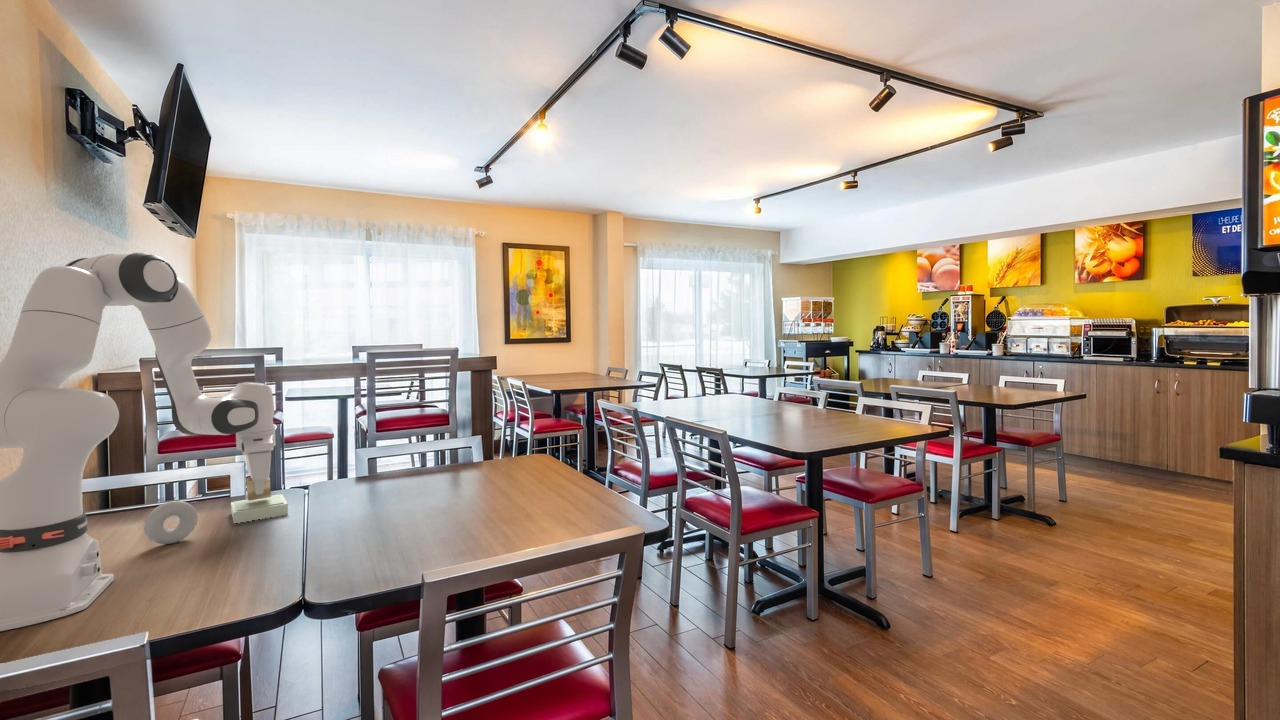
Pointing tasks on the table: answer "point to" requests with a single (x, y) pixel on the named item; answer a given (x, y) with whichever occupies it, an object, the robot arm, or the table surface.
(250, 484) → the maple cube
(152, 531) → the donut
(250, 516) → the pedestal
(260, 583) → the table surface
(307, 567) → the table surface
